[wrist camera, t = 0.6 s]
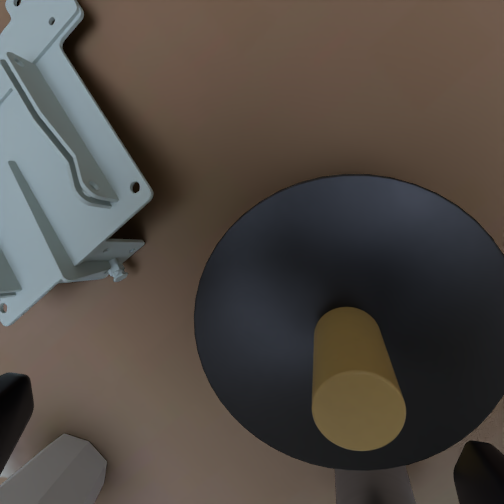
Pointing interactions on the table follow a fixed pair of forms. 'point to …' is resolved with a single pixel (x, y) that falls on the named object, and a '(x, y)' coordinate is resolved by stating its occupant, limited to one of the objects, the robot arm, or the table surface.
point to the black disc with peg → (354, 322)
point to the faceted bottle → (58, 475)
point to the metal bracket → (56, 165)
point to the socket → (373, 486)
